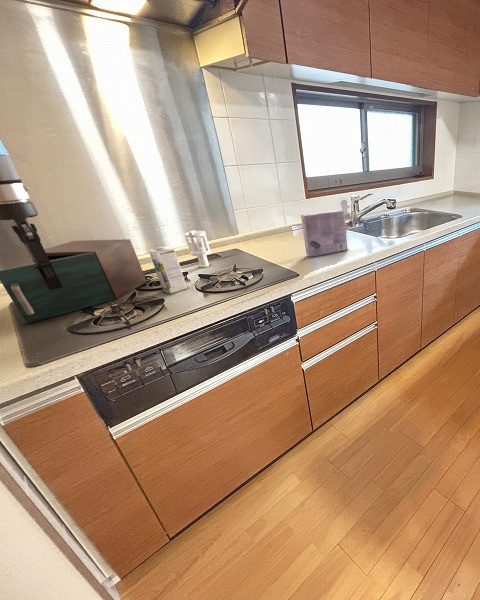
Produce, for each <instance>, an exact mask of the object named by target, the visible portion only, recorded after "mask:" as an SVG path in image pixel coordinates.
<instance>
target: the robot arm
mask: <svg viewBox="0 0 480 600" xmlns="http://www.w3.org/2000/svg"><path fill="white" fill-rule="evenodd" d="M27 191H30V187H28V186H27V185H26V186H24V183H23V181H22V179H21V177H20V176H19V173H18V171H17V169H16V167H15V165H14V162H13V160H12V158H11V156H10V152H8V150H7V149H6V147H5V145H4V144H3V142H2V140H1V139H0V221H12V222H13V225H11V226H10V228H11V229H12V231H13V232H14V233H15V234H16V236H17V237H18V240H19V241H20V242H21V243H22V244H23V245H24V246H25V248H26V250H27V252H28V253H29V256H30V257H31V259H32V262H33V264H35V265H36V266H34V268H35V269H38V270H39V272H40V274H41V275H42V277H43V279H44V281H45V283H46V285H47V286H48V288H49V290H53V289H57V288H61V287H63V286H62V284H61V282H60V280H59V279H58V277H57V275H56V273H55V271H54V269H53V267H52V265H51V264H53V262H52V261H50V260H49V258H48V256H47V254H46V252H45V250H44V249H45V248H44V246H43V244H42V242H41V241H42V240H41V237H40V235H39V234H38V229H37V227H36V225H35V224H33V223H32V222H31V223H30V221H29V220H28V218H34V217H37V216H39V212H38V210H37V208H36V206H35V204H34V202H32V201H30V198H31V197H30V195H29V193H28V192H27Z"/></svg>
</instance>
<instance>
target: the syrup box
mask: <svg viewBox="0 0 480 600" xmlns="http://www.w3.org/2000/svg"><path fill="white" fill-rule="evenodd" d="M148 252H149V255H150V258H151V261H152V264H153V267H154V270H155V272H156V275H157V278H158V281H159V283H160V286H161V288H162V291H163V292H165V293H167V294H170V295H171V294H174V293H177V292H180V291H183V290H186V289H188V287H187V283H186V280H185V277H184V274H183V271H182V267H181V265H180V262H179V259H178V255H177V253H176V250H175V248H174V247H173V248H172V247H170V246H167V245H166V246H158V247H153V248H150V249H148Z"/></svg>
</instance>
